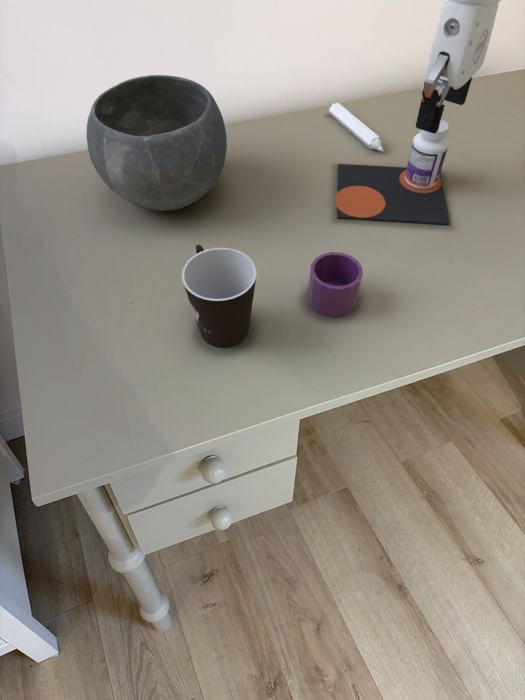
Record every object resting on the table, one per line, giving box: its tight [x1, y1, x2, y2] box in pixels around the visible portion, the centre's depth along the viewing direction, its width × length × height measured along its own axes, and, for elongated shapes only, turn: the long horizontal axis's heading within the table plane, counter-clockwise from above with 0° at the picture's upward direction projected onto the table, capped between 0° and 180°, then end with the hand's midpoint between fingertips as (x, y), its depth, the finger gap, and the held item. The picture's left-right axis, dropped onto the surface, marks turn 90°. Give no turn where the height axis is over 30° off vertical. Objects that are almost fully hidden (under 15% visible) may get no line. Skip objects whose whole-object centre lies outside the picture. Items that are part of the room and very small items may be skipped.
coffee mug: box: [181, 244, 258, 349], centre depth 66 cm, size 12×9×10 cm
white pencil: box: [328, 102, 385, 153], centre depth 95 cm, size 3×2×16 cm
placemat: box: [334, 163, 450, 226], centre depth 86 cm, size 18×14×1 cm
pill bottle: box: [405, 118, 450, 189], centre depth 83 cm, size 5×5×10 cm
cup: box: [307, 251, 364, 318], centre depth 70 cm, size 7×7×6 cm
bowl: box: [86, 74, 228, 211], centre depth 80 cm, size 20×20×15 cm
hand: (440, 115), depth 78 cm, fingers open, 9 cm apart
